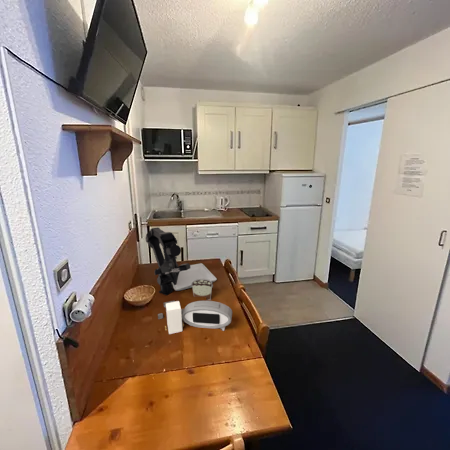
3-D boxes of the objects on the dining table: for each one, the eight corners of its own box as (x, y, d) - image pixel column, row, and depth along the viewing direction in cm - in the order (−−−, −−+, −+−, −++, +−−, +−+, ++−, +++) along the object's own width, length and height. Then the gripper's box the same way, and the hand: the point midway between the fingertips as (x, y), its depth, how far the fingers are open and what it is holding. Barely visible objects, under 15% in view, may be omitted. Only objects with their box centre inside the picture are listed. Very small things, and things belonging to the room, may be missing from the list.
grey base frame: (156, 305, 136) (156, 300, 135) (181, 301, 140) (180, 296, 139) (160, 337, 112) (160, 332, 111) (190, 331, 116) (190, 325, 115)
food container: (214, 294, 147) (214, 278, 144) (213, 300, 141) (212, 284, 138) (194, 293, 148) (193, 277, 145) (191, 298, 142) (190, 283, 139)
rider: (167, 327, 118) (165, 303, 114) (180, 324, 120) (178, 300, 116) (169, 336, 112) (167, 310, 109) (182, 333, 114) (180, 308, 111)
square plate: (164, 275, 171) (164, 270, 170) (202, 267, 182) (202, 262, 181) (175, 294, 147) (174, 288, 146) (217, 284, 159) (217, 278, 158)
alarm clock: (181, 329, 118) (180, 305, 114) (185, 320, 124) (184, 297, 120) (231, 332, 115) (231, 308, 112) (232, 323, 121) (232, 300, 118)
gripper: (146, 261, 129) (152, 291, 129) (179, 256, 124) (185, 287, 124) (157, 257, 140) (162, 285, 139) (188, 252, 135) (193, 281, 135)
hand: (175, 284), depth 134 cm, fingers closed
